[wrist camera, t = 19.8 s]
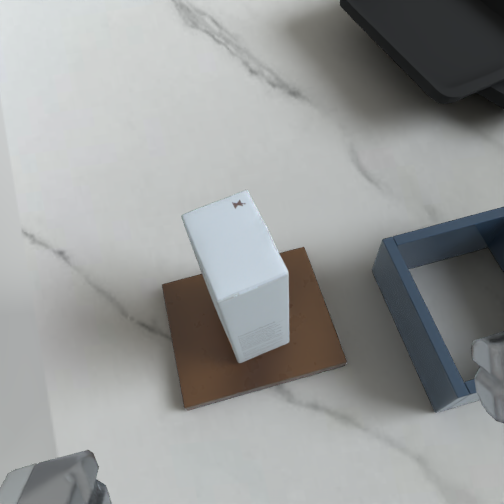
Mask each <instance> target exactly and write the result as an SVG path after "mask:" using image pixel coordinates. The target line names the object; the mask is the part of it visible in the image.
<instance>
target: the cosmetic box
mask: <svg viewBox="0 0 504 504" xmlns="http://www.w3.org/2000/svg"><path fill="white" fill-rule="evenodd" d="M182 220H183V223H184V226H185V228H186V231H187V234H188V237H189V240H190V242H191V245H192V248H193V251H194V253H195V256H196V259H197V261H198V264H199V267H200V269H201V272H202V275H203V277H204V280H205V283H206V285H207V288H208V291H209V293H210V296H211V298H212V301H213V303H214V306H215V308H216V311H217V313H218V316H219V318H220V321H221V323H222V325H223V328H224V330H225V332H226V335H227V337H228V340H229V342H230V344H231V347H232V349H233V352H234V354H235V356H236V359H237V361H238V363H243V362H245V361H247V360H249V359H251V358H254V357H256V356H258V355H261V354H263V353H266V352H268V351H271V350H273V349H275V348H278V347H280V346H283V345H285V344H287V343H289V273H288V270H287V268H286V266H285V264H284V262H283V260H282V258H281V256H280V254H279V252H278V250H277V248H276V246H275V244H274V241H273V239H272V237H271V234H270V232H269V230H268V228H267V226H266V224H265V222H264V221H263V219H262V217H261V215H260V213H259V211H258V209H257V207H256V205H255V203H254V202H253V200H252V198H251V196H250V194H249V192H248V191H247V190H244V191H242V192H239V193H237V194H234V195H232V196H229V197H227V198H224V199H221V200H219V201H216V202H213V203H211V204H208V205H205V206H203V207H200V208H197V209H195V210H192V211H190V212H188V213H185V214H183V215H182Z"/></svg>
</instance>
